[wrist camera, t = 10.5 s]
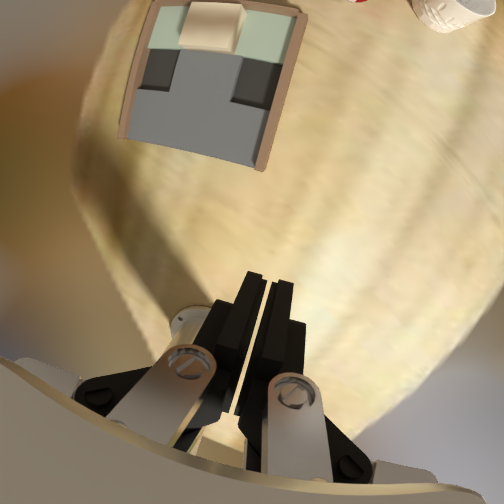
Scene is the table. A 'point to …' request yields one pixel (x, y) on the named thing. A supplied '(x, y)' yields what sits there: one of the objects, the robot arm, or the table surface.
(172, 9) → the box
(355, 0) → the soda can
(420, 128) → the table surface
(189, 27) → the birch block
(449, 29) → the white cup
